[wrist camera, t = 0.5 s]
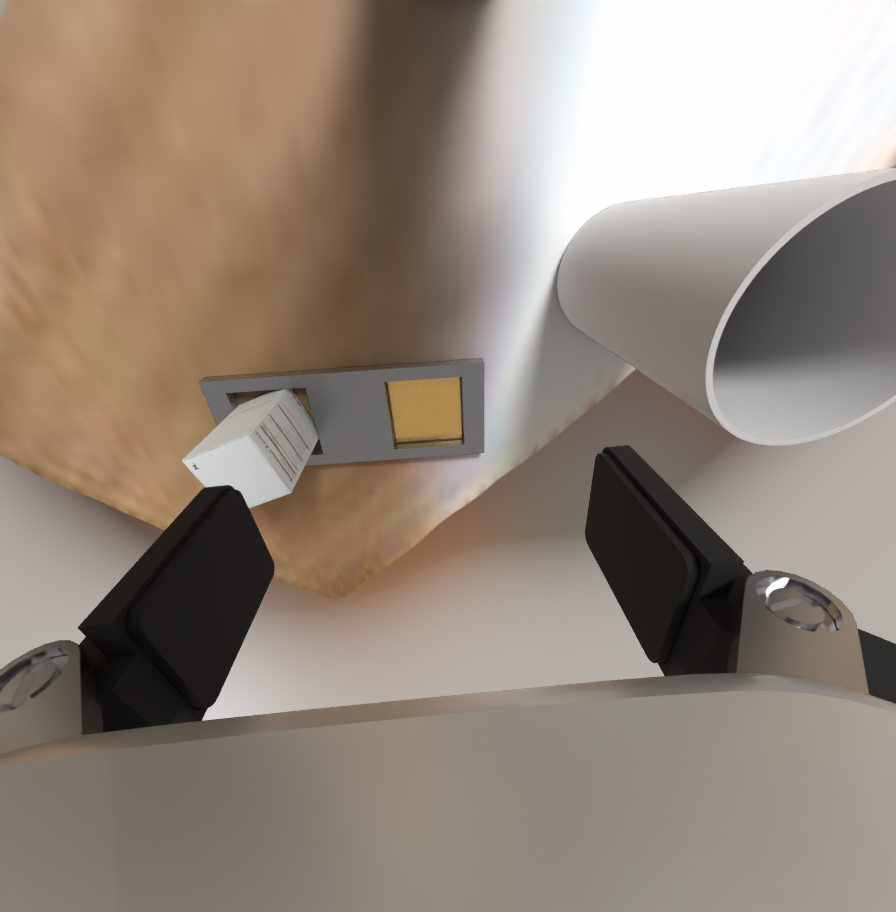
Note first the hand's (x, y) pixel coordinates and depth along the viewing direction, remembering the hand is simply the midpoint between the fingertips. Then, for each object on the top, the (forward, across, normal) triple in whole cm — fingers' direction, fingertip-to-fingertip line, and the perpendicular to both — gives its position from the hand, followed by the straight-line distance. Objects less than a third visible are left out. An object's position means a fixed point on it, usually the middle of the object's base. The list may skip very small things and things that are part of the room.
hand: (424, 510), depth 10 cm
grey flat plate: (+35, +10, +12) cm, 38 cm away
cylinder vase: (+34, -20, -2) cm, 40 cm away
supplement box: (+35, +19, +11) cm, 41 cm away
